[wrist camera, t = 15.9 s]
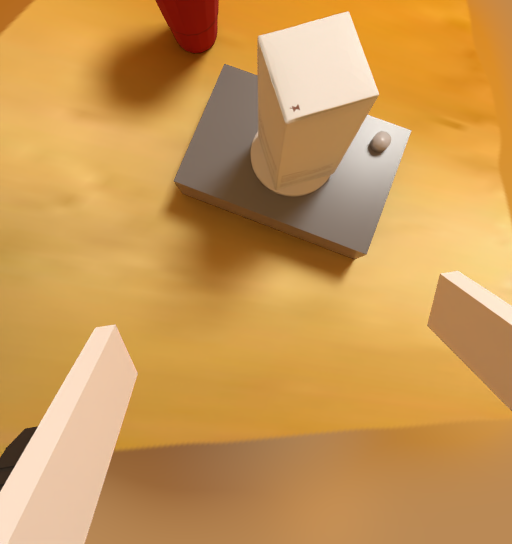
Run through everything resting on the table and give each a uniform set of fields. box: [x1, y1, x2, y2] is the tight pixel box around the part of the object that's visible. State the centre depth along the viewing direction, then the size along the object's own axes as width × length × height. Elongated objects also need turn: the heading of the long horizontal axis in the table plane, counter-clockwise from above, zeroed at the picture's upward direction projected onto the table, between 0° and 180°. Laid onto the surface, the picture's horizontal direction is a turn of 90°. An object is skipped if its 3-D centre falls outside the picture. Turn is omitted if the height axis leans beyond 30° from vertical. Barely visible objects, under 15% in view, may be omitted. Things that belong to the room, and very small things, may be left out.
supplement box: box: [258, 11, 379, 190], centre depth 27 cm, size 7×7×13 cm
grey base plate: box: [174, 64, 411, 259], centre depth 35 cm, size 24×16×5 cm, turn 68°
